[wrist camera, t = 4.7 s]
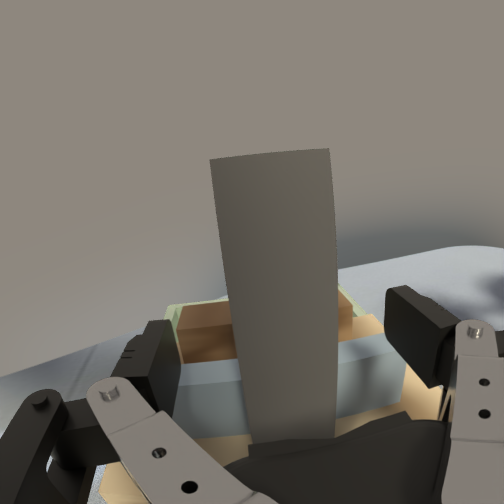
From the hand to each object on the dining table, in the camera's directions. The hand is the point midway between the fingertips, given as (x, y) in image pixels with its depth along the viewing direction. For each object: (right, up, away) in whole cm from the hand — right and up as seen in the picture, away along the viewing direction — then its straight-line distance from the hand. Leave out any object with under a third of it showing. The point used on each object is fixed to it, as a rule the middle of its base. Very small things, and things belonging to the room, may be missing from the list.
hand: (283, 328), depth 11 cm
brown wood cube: (-4, -5, +12) cm, 14 cm away
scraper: (+1, -7, +3) cm, 8 cm away
